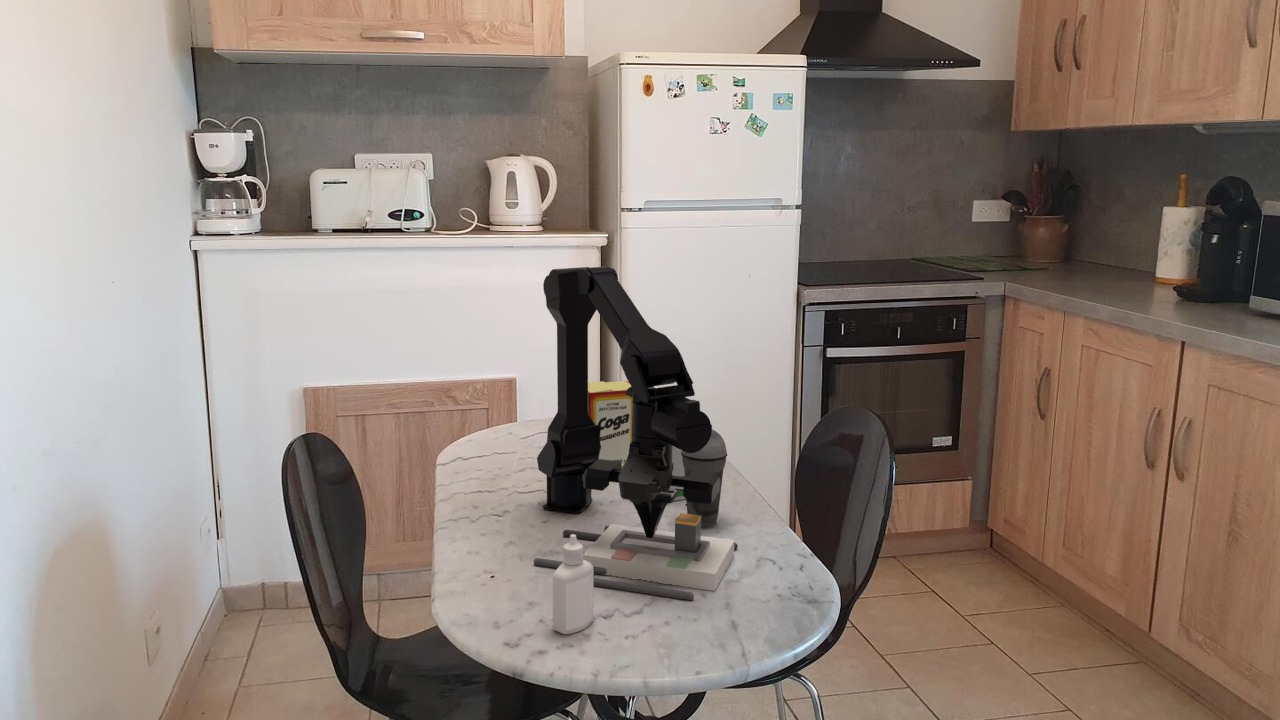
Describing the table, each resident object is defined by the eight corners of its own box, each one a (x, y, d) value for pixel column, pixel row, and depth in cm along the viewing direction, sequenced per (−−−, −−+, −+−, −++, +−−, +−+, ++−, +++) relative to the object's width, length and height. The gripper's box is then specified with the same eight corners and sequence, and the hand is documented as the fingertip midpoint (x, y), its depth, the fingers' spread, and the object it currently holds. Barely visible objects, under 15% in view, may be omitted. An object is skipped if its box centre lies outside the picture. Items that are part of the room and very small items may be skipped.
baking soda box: (626, 460, 185) (627, 378, 182) (638, 471, 179) (638, 387, 176) (578, 465, 182) (578, 382, 179) (588, 476, 176) (588, 390, 173)
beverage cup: (722, 533, 151) (726, 408, 147) (676, 529, 152) (678, 405, 148) (727, 516, 158) (731, 396, 154) (683, 512, 159) (685, 394, 155)
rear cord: (561, 536, 149) (561, 530, 149) (572, 526, 153) (572, 520, 153) (731, 560, 141) (731, 553, 141) (738, 548, 146) (738, 542, 145)
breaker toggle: (674, 553, 137) (675, 520, 136) (680, 545, 140) (680, 512, 139) (695, 556, 136) (695, 523, 135) (700, 547, 139) (701, 515, 138)
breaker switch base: (583, 571, 137) (582, 550, 137) (611, 539, 148) (611, 519, 148) (714, 591, 132) (715, 569, 131) (733, 556, 143) (734, 535, 142)
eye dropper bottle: (600, 629, 121) (600, 539, 118) (556, 637, 119) (555, 545, 116) (589, 614, 125) (589, 526, 122) (547, 621, 123) (546, 531, 120)
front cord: (522, 575, 136) (522, 569, 135) (535, 562, 140) (535, 556, 140) (692, 601, 128) (693, 594, 128) (701, 587, 133) (701, 580, 132)
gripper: (568, 442, 131) (569, 550, 135) (703, 457, 126) (700, 569, 130) (596, 420, 142) (596, 521, 145) (722, 433, 136) (718, 537, 140)
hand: (650, 537), depth 140 cm, fingers closed
